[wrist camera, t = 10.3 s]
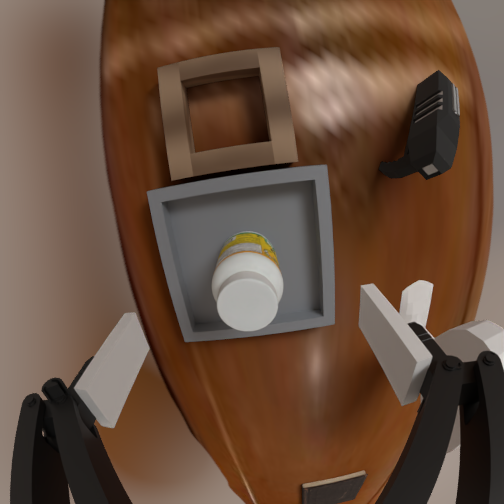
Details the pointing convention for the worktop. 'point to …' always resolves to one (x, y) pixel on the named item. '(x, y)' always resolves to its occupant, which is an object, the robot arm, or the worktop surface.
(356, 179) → the worktop surface
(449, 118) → the gun
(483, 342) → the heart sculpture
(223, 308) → the supplement bottle
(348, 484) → the hardcover book
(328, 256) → the tray
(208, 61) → the socket block
